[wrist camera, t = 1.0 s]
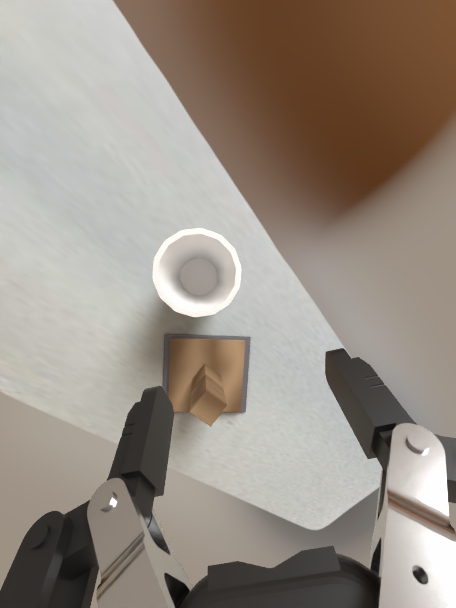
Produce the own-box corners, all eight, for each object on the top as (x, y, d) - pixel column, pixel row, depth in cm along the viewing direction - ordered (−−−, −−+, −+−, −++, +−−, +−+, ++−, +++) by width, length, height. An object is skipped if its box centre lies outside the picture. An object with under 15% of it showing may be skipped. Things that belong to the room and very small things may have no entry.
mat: (162, 411, 39) (161, 412, 39) (165, 334, 38) (164, 334, 38) (245, 410, 41) (245, 412, 40) (250, 336, 40) (250, 337, 39)
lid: (168, 409, 39) (155, 457, 28) (171, 337, 38) (158, 359, 27) (240, 409, 40) (254, 454, 29) (244, 340, 39) (260, 361, 28)
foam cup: (235, 294, 39) (252, 299, 26) (182, 314, 38) (173, 330, 25) (215, 239, 38) (222, 215, 25) (160, 258, 37) (138, 245, 24)
